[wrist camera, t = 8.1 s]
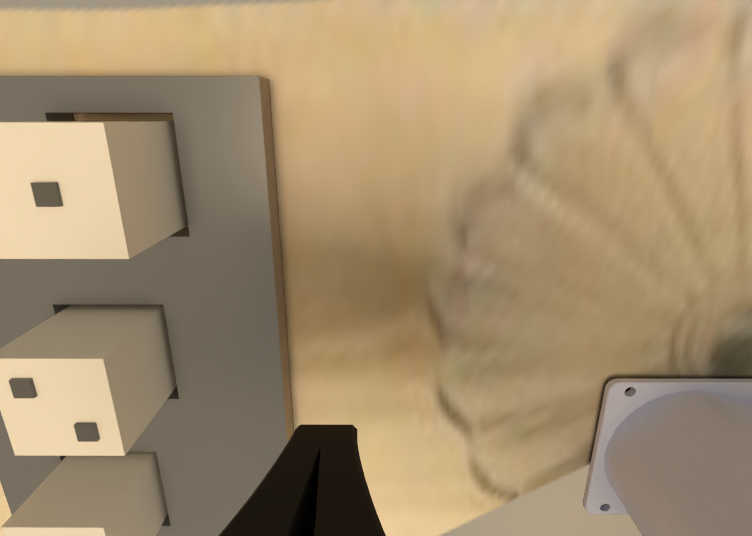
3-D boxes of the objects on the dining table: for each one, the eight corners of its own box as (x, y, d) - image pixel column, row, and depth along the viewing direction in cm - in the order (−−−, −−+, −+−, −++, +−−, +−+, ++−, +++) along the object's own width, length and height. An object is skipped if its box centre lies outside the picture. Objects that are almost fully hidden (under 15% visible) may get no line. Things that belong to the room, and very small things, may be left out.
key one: (179, 120, 17) (100, 122, 12) (192, 222, 18) (126, 260, 13) (75, 121, 17) (-45, 122, 12) (96, 222, 18) (-5, 260, 14)
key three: (162, 439, 22) (100, 531, 17) (174, 501, 23) (120, 603, 18) (82, 439, 22) (-3, 530, 17) (98, 501, 23) (24, 603, 18)
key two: (169, 300, 19) (100, 361, 15) (182, 378, 21) (122, 458, 16) (79, 300, 20) (-21, 361, 15) (97, 378, 21) (11, 458, 16)
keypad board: (268, 79, 17) (258, 76, 15) (300, 518, 24) (295, 544, 23) (-97, 79, 17) (-140, 76, 16) (42, 518, 24) (21, 543, 23)
